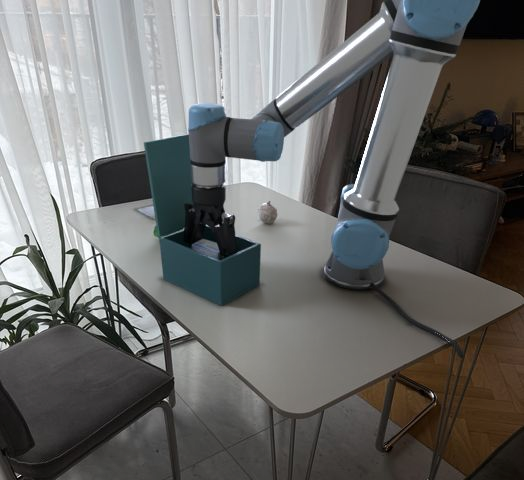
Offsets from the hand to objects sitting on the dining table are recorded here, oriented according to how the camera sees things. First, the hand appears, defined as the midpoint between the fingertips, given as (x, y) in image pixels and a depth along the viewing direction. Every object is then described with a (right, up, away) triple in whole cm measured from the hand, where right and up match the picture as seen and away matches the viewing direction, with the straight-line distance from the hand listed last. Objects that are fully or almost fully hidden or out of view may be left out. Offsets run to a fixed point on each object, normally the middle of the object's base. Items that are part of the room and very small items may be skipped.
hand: (210, 276), depth 116 cm
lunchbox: (0, -1, +1) cm, 1 cm away
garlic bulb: (+14, +23, +35) cm, 45 cm away
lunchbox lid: (-7, +20, -7) cm, 23 cm away
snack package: (-12, +15, +23) cm, 29 cm away
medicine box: (0, 0, 0) cm, 0 cm away
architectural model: (-20, +29, +41) cm, 54 cm away
